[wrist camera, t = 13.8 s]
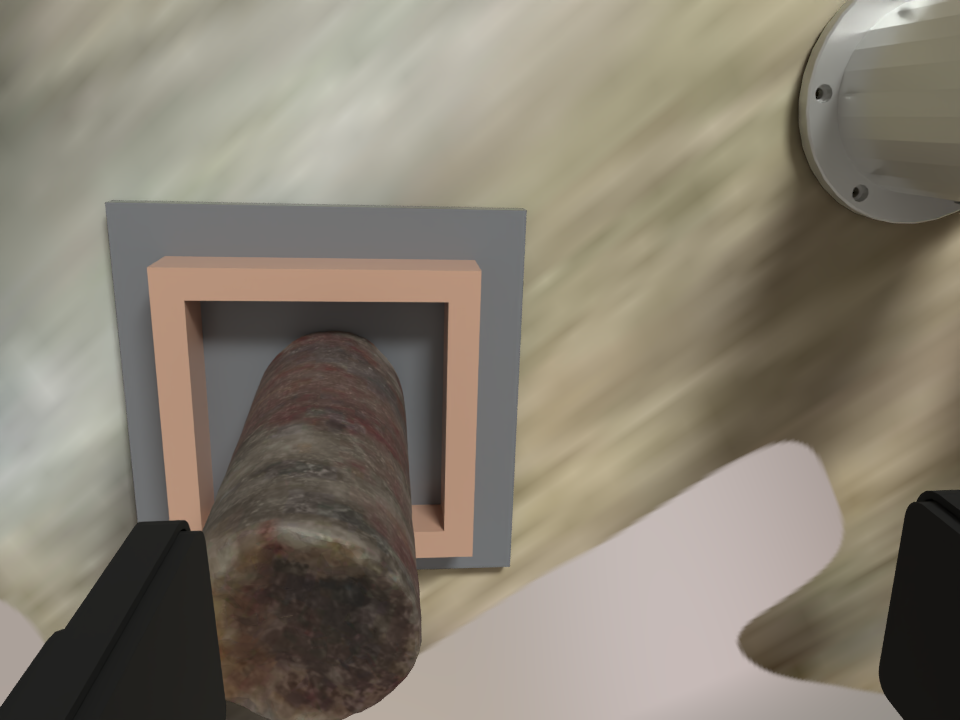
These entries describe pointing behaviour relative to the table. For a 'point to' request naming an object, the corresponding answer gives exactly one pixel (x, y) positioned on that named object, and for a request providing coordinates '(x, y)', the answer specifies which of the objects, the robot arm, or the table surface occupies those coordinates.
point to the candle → (317, 537)
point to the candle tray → (320, 308)
